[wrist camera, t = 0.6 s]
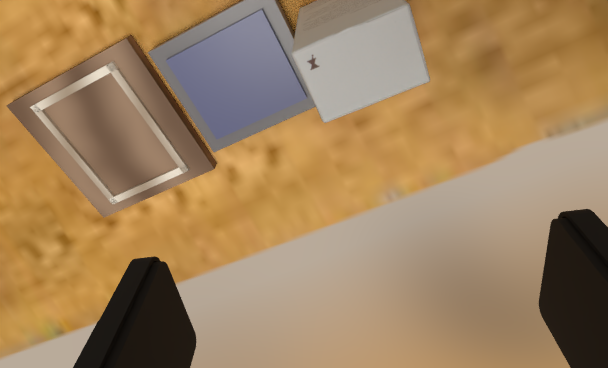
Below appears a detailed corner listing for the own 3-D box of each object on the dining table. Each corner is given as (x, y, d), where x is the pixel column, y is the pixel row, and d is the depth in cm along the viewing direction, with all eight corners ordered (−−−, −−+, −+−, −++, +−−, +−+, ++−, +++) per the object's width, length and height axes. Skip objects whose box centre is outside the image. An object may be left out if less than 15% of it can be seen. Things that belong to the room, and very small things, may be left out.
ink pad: (270, -16, 31) (267, -12, 30) (324, 95, 35) (324, 104, 34) (154, 47, 34) (146, 53, 32) (217, 144, 38) (212, 154, 36)
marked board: (131, 35, 33) (124, 39, 32) (216, 163, 39) (213, 170, 38) (13, 101, 36) (4, 107, 35) (108, 211, 42) (102, 219, 41)
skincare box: (321, 62, 34) (320, 126, 24) (298, 7, 32) (287, 51, 22) (398, 29, 32) (433, 83, 22) (379, -30, 30) (408, -1, 20)
